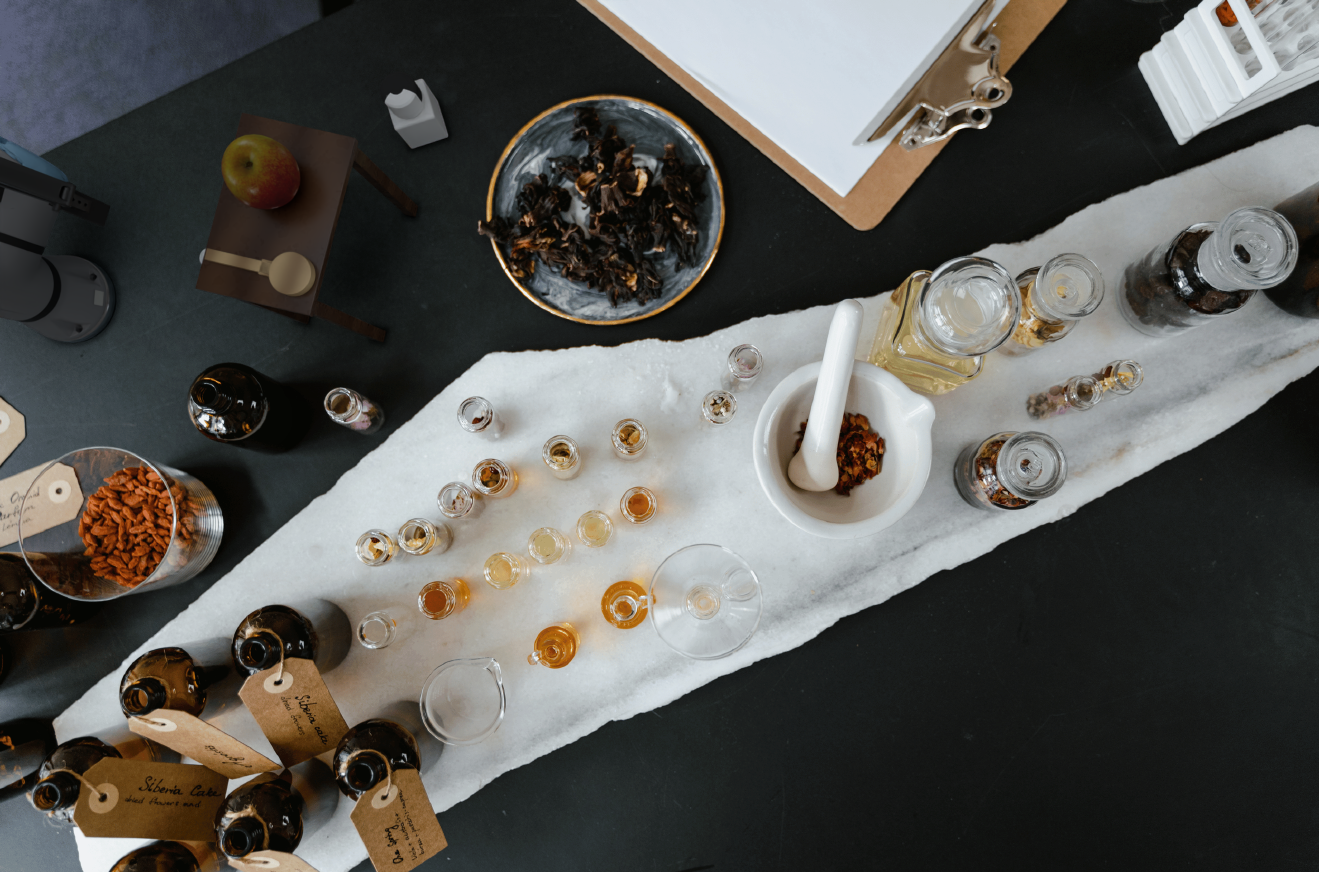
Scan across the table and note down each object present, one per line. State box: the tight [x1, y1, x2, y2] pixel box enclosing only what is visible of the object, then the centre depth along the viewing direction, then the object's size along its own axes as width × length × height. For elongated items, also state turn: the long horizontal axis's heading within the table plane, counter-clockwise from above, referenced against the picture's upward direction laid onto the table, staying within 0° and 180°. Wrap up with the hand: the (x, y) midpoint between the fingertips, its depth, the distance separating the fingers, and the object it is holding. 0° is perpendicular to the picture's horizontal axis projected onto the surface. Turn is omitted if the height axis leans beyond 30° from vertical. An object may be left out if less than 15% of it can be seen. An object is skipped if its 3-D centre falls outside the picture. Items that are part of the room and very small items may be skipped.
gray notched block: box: [379, 71, 449, 150], centre depth 112 cm, size 7×7×12 cm
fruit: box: [220, 134, 300, 209], centre depth 90 cm, size 10×9×8 cm
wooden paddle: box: [205, 248, 315, 297], centre depth 93 cm, size 16×6×1 cm, turn 76°
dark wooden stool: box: [194, 112, 419, 343], centre depth 106 cm, size 17×26×24 cm, turn 166°
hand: (53, 203), depth 81 cm, fingers open, 13 cm apart
